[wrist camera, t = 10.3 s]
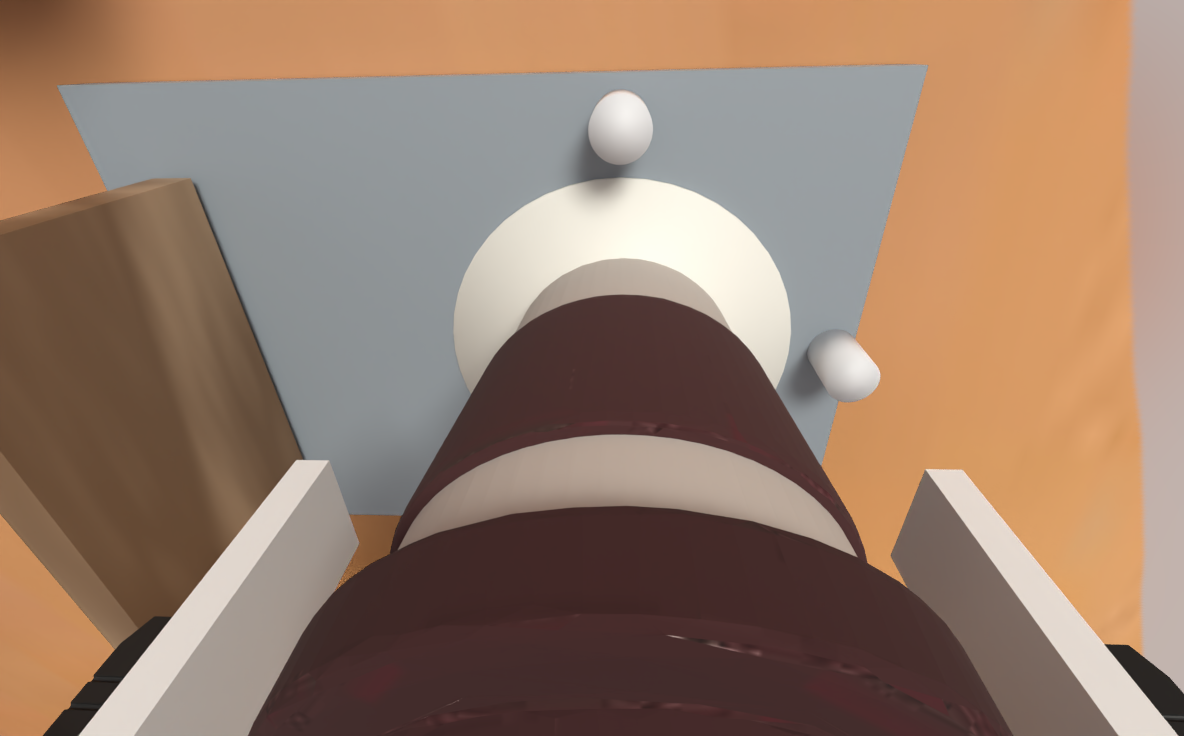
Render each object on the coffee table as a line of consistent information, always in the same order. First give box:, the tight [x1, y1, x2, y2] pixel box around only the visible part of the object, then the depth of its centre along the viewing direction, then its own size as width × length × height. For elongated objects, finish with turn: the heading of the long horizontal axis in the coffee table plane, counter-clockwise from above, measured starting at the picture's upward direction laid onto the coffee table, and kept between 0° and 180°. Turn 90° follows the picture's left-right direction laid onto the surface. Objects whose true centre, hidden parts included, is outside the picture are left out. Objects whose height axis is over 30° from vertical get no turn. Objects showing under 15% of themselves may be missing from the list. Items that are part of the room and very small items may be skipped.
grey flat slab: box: [57, 64, 928, 516], centre depth 18 cm, size 24×17×3 cm
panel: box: [0, 178, 303, 649], centre depth 16 cm, size 3×12×8 cm, turn 2°
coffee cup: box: [248, 258, 1013, 736], centre depth 12 cm, size 10×10×15 cm
